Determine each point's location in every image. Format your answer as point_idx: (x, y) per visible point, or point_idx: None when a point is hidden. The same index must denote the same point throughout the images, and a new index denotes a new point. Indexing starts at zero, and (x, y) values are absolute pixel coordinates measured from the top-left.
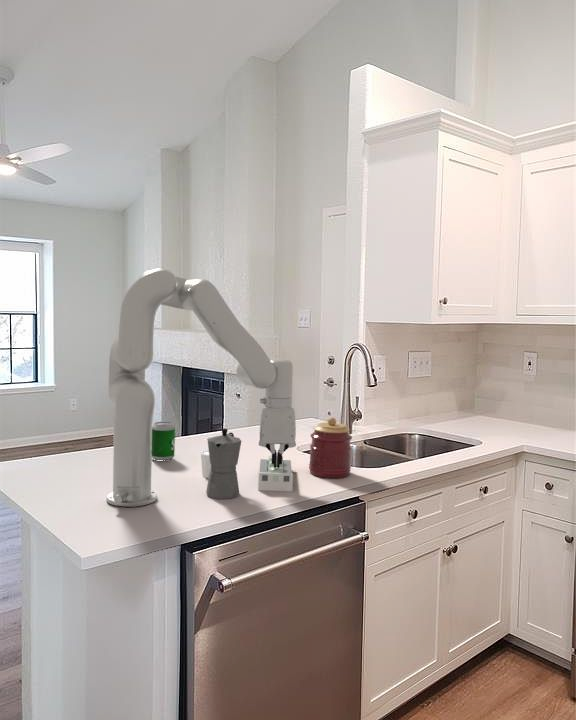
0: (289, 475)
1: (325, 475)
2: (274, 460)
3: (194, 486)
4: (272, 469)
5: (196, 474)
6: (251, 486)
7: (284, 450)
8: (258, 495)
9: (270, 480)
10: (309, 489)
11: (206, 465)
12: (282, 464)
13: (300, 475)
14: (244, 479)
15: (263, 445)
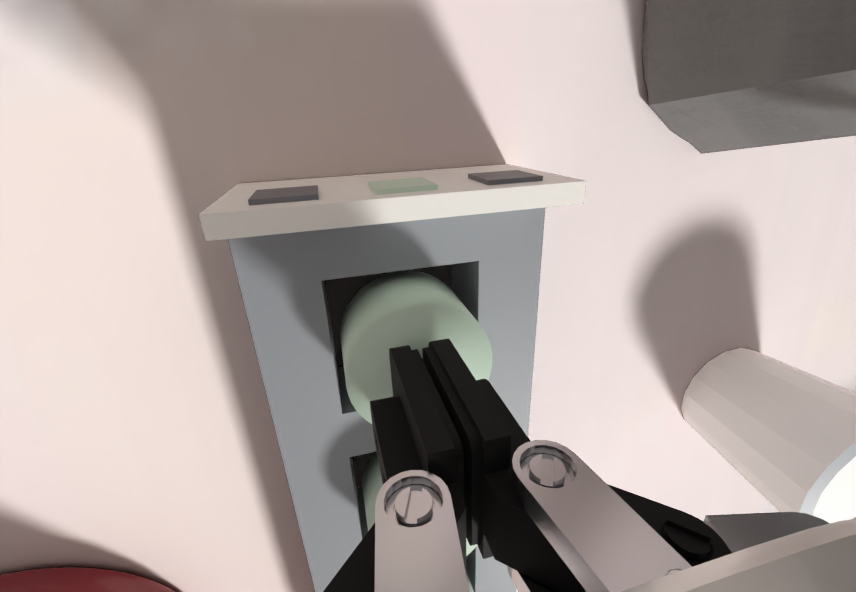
0: (248, 206)
1: (39, 582)
2: (470, 379)
3: (841, 185)
4: (453, 336)
5: None
6: (546, 255)
7: (361, 557)
8: (505, 25)
9: (444, 180)
10: (95, 276)
11: (831, 383)
12: (373, 523)
13: (253, 551)
14: (577, 380)
15: (750, 535)
